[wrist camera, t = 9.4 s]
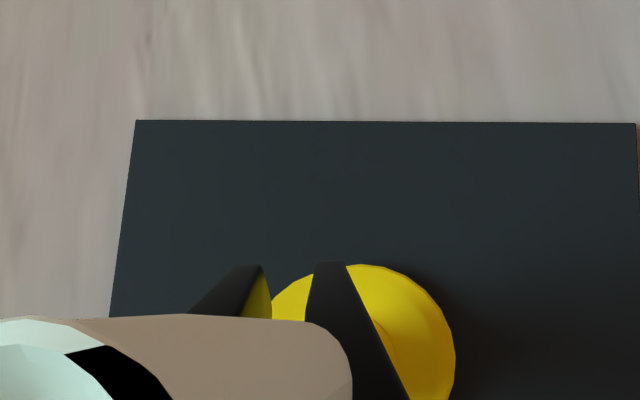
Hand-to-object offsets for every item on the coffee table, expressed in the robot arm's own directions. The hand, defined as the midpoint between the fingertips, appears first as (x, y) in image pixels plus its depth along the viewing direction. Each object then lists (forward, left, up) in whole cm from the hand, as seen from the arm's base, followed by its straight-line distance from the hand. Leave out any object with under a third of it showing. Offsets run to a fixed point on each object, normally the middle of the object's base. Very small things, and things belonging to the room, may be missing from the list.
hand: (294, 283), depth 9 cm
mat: (-1, 0, -9) cm, 9 cm away
